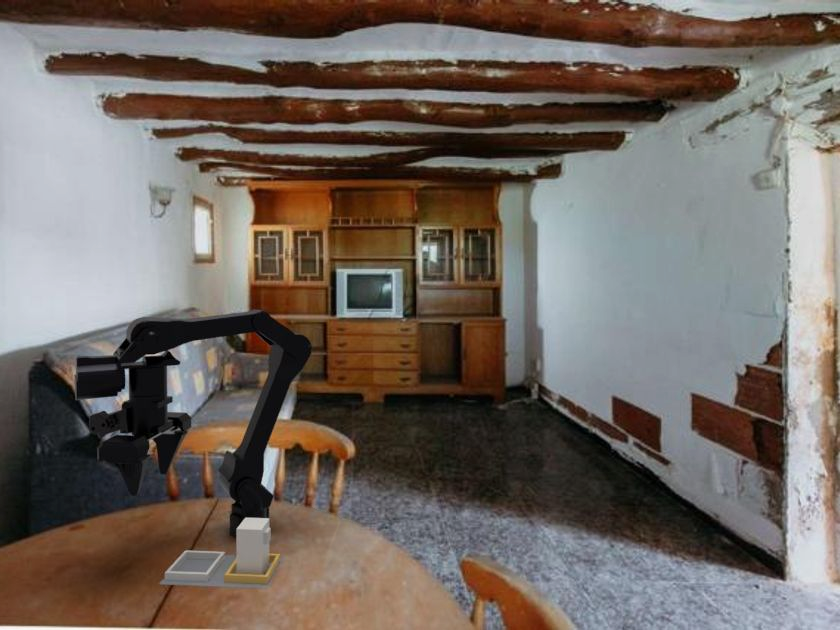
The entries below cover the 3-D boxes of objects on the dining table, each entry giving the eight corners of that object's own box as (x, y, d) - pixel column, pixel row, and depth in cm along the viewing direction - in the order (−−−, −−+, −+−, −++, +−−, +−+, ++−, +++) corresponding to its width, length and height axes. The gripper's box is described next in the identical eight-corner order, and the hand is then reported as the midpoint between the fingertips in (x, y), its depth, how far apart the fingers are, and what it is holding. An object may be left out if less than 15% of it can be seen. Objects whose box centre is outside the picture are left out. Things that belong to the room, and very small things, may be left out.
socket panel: (158, 587, 82) (158, 576, 81) (186, 557, 91) (186, 546, 90) (267, 592, 81) (267, 581, 81) (284, 560, 90) (284, 550, 90)
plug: (236, 577, 84) (236, 528, 83) (245, 564, 88) (245, 517, 87) (265, 578, 84) (265, 530, 83) (272, 565, 88) (273, 518, 87)
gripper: (133, 380, 97) (134, 463, 98) (61, 405, 79) (64, 506, 80) (192, 382, 97) (193, 465, 98) (134, 407, 78) (136, 509, 79)
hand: (149, 484), depth 89 cm, fingers open, 9 cm apart
